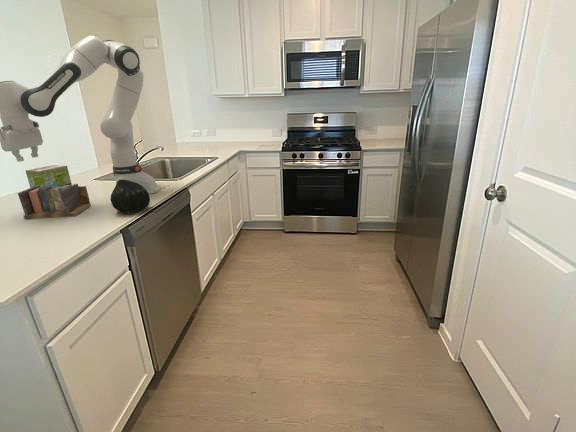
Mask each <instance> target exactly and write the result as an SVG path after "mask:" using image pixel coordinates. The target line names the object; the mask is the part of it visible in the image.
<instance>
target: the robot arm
mask: <svg viewBox="0 0 576 432" xmlns="http://www.w3.org/2000/svg"><path fill="white" fill-rule="evenodd" d="M104 64H107V65H109V66H111V67H112V68H113V69H117V73H118V75H117V80H116V83H115V86H114V89H113V93H112V96H111V99H110V102H109V104H108V107H107V109H106V111H105V114H104V116H103V119H102V121H101V122H100V131H101V133H102V134H103V135H104V136H105V137H106V138H109V140H110V144H109V145H110V150H109V153H110V157H111V162H112V173H113V176H114V178H115V185H116V184H117V182H118V181H119V179H121V180H129V181H132V182H136V183H138V184H140V185H142V186H143V187H144V188H145V189H146V190H147V192H148V193H149V195H151V194H155V193H157V192H159V191H160V190H161V189H162V186H161V185H160V184H157V183H156V180H155V178H154V177H153V176H151V175H150V174H148V173H146V172H145V171H143V170H142V167H143V166H142V164H140V165H139V164H138V163H137V159H136V152H135V148H134V147H135V145H134V144H135V143H134V142H135V141H134V131H133V123H132V122H131V120H133V119H132V118H133V116H134V114H135V111H136V110H137V108H138V107H137V106H138V103H139V101H140V97H141V94H142V89H143V85H144V76H145V75H144V73H143V71H142V70H141V67H140V66H141V65H140V64H141V59H140V56H139V54H138V52H137V51H136V50H135V49H134V48H132V47H131V46H129V45H127V44H126V43H125V44H124V43H122V42H119V41H115V40H111V39H106V40H103V39H101V38H99V37H98V36H96V35H88V36H85V37H84V38H82V39H80V40H78V42H76V43H75V44H74V45H73V46H71V47H70V49H68V50H67V51H66V53H65V54H64V55H63V57H62V59H61V61H60V63H59V66H58V67H57V69H56V71H54V72H53V74H51V76H50V77H48V79H46V80H45V81H44V82H43V83H41V85H39V86H37V87H36V86H35V87H33V88H31V87H29V86H25V85H22V84H20V83H18V82H17V81H15V80H4V81H0V120H1V124H2V126H1V127H0V147H1V149H2V150H3V151H4V152H11V154H12V155H13V156H14V158H15V160H16V162H21V163H22V162H24V161H25V158H24V156H22V155H21V154H20V153H21V151H20V150H24V149H30V150H31V153H30V155H31V158H38V157H39V154H38V150H39V147H38V146H42V145H43V141H44V140H43V136H42V133H41V131H40V124H39V123H38V122H37V121H35V120H33V119H30V116H29V115H31V116H33V117H39V118H44V117H48V116H49V115H51V114H52V113H53V111H54V110H55V106H56V102H57V100H58V99H59V97H61V95H62V94H64V93H65V91H67V90H68V89H69V88H71V86H73V85H74V84H75V83H78V82H81V81H83V80H85V79H86V78H88V77H90V76H92V74H94V73H95V72H96V71H97V70H98V69H99V68H100V67H101V66H102V65H104Z"/></svg>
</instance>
